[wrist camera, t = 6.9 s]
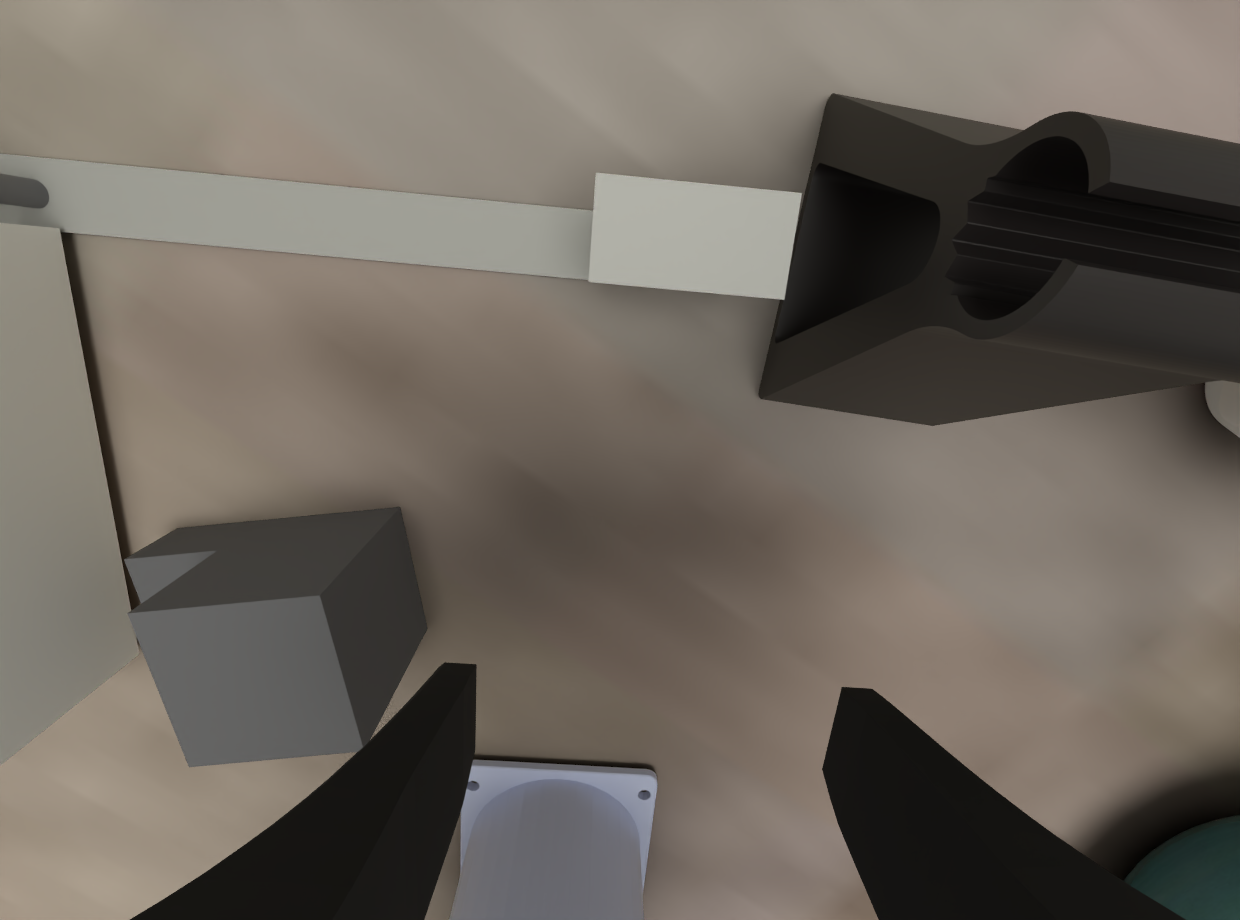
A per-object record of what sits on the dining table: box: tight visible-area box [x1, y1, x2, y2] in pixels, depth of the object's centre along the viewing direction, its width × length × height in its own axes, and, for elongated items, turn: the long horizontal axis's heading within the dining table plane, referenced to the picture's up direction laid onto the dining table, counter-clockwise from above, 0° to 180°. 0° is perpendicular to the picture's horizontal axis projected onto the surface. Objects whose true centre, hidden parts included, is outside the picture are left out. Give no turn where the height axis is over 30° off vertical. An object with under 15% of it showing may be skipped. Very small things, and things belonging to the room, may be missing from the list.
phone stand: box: [759, 93, 1240, 426], centre depth 13 cm, size 9×6×12 cm, turn 170°
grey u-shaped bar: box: [0, 154, 802, 300], centre depth 14 cm, size 2×26×7 cm, turn 85°
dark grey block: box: [124, 507, 427, 767], centre depth 18 cm, size 5×8×6 cm, turn 95°
